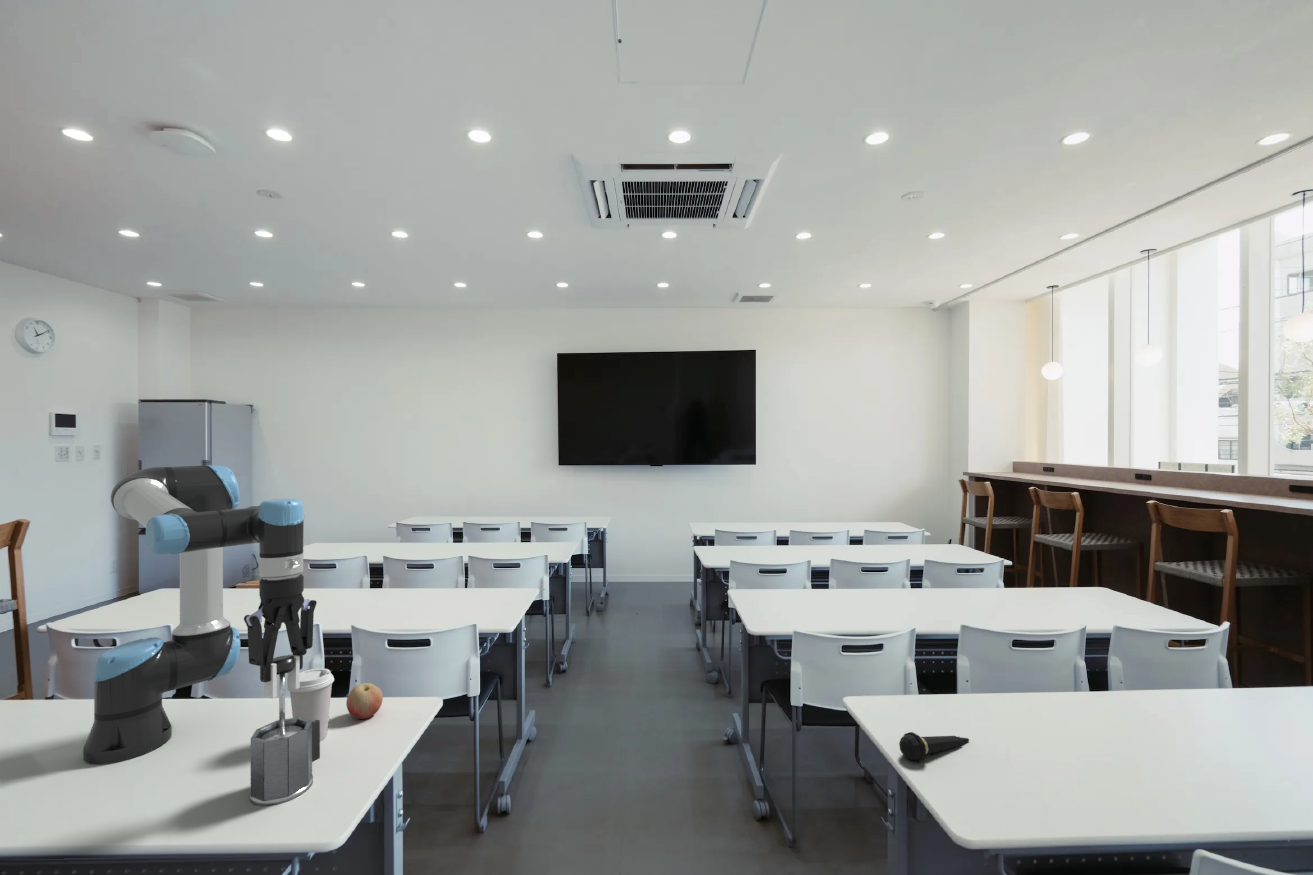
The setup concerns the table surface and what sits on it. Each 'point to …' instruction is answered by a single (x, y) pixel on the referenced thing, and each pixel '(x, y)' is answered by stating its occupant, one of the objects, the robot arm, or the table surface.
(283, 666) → the plunger
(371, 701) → the fruit
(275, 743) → the press carafe
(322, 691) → the coffee cup
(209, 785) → the table surface
